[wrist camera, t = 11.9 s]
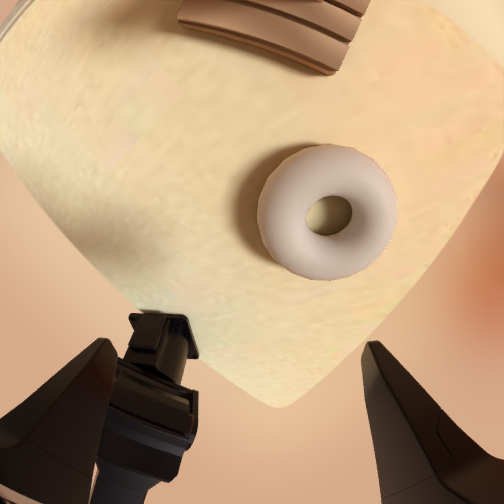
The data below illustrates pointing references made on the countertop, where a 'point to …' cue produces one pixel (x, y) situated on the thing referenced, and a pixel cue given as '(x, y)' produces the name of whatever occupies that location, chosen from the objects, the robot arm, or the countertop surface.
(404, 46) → the countertop surface
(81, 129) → the countertop surface
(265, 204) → the donut
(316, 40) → the stacked wooden slats
